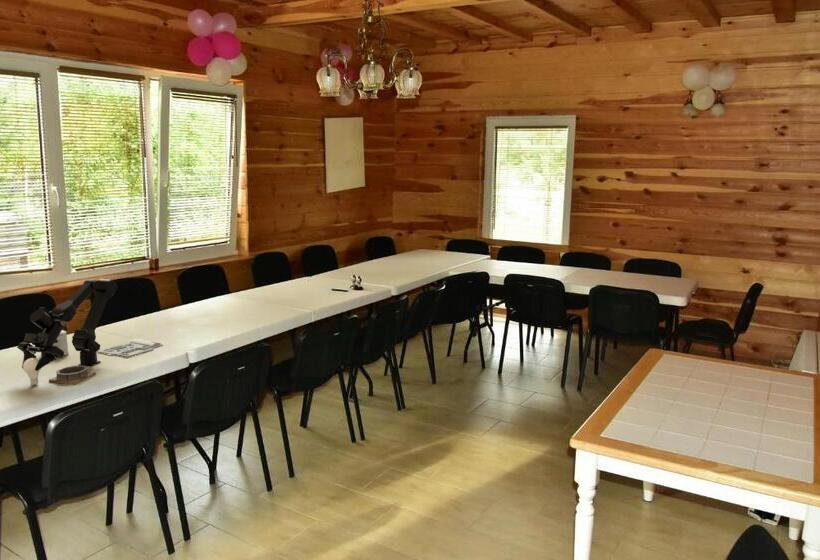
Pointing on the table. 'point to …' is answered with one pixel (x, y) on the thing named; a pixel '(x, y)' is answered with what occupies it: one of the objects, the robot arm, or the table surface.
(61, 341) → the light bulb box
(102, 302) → the robot arm
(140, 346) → the grey openwork panel
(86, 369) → the bulb holder
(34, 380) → the lightbulb
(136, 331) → the table surface
